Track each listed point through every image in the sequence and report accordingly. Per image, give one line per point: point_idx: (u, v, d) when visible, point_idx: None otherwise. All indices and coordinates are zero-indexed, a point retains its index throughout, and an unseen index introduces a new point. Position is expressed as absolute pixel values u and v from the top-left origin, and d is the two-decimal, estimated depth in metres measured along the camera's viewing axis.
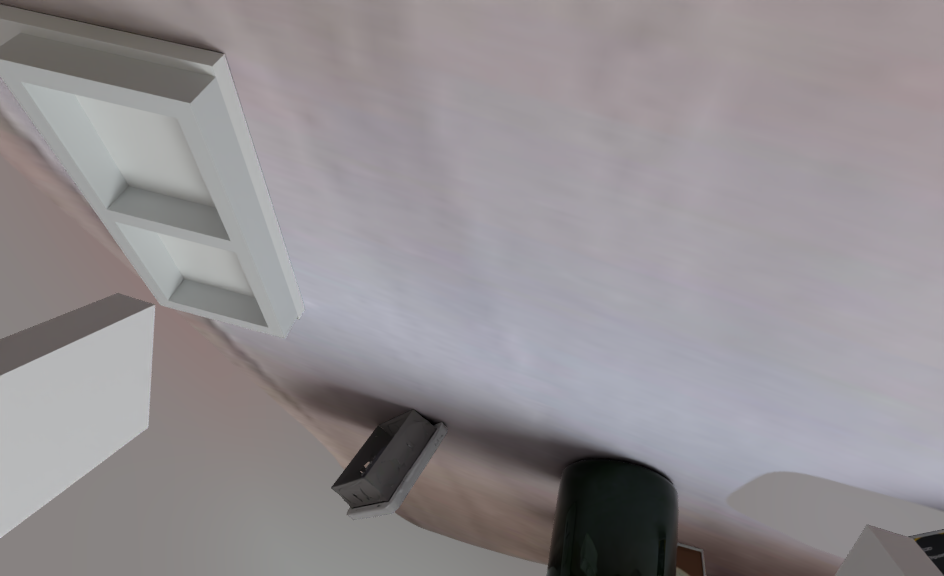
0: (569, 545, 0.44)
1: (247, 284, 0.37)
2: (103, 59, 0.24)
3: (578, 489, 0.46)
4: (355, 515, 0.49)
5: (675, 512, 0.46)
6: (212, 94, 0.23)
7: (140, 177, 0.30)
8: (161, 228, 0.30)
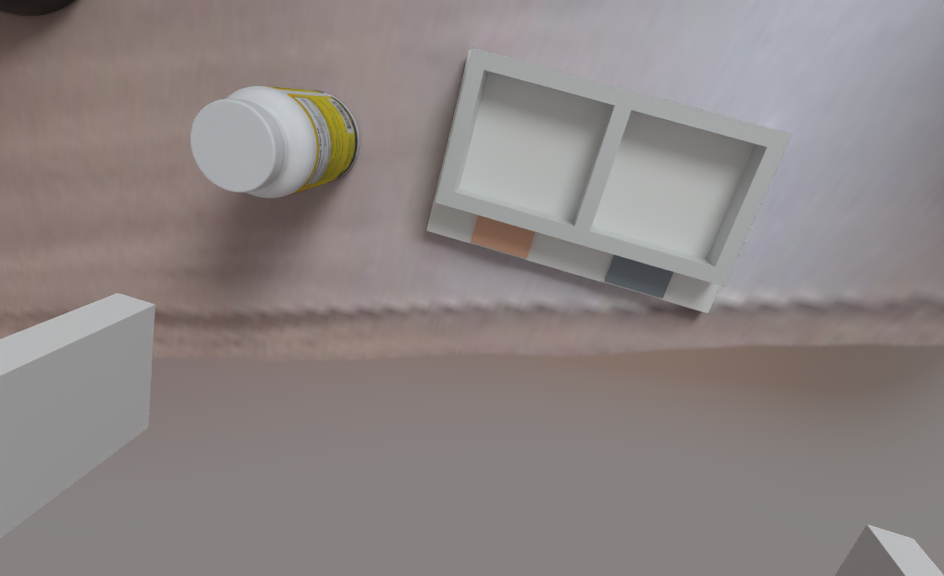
0: None
1: (716, 173, 0.34)
2: None
3: None
4: None
5: None
6: None
7: (564, 198, 0.36)
8: (598, 180, 0.33)
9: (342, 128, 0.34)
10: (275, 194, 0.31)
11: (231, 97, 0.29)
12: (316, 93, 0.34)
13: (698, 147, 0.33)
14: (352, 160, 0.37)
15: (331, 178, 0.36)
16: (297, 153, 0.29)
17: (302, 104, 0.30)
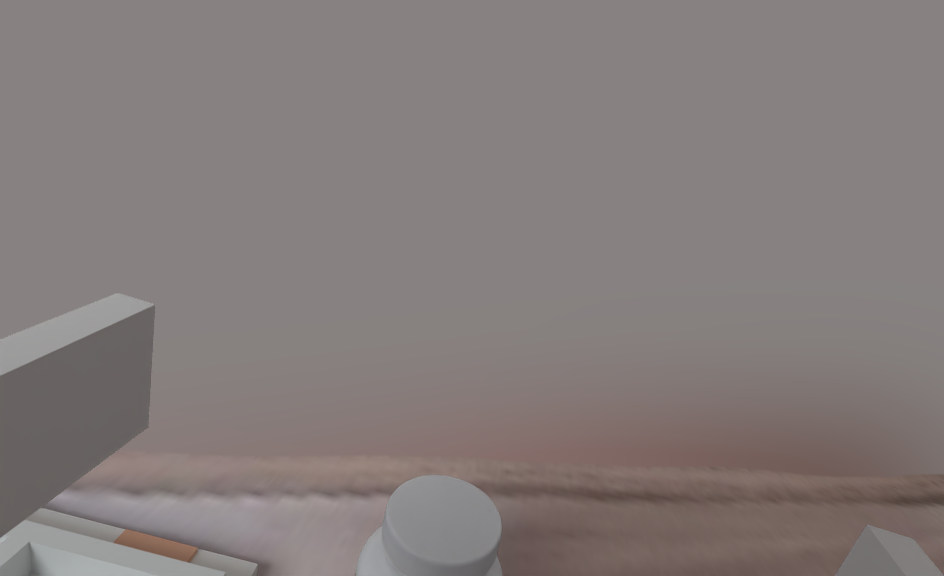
0: None
1: None
2: None
3: None
4: None
5: None
6: None
7: None
8: None
9: None
10: None
11: None
12: None
13: None
14: None
15: None
16: (375, 545, 0.22)
17: None
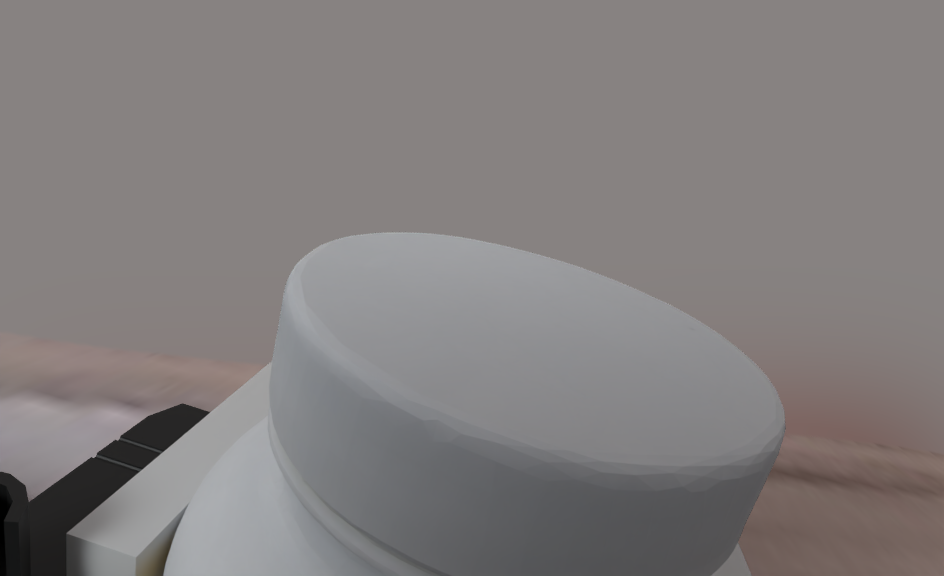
0: None
1: None
2: None
3: None
4: None
5: None
6: None
7: None
8: None
9: None
10: None
11: None
12: None
13: None
14: None
15: None
16: (264, 433, 0.06)
17: None
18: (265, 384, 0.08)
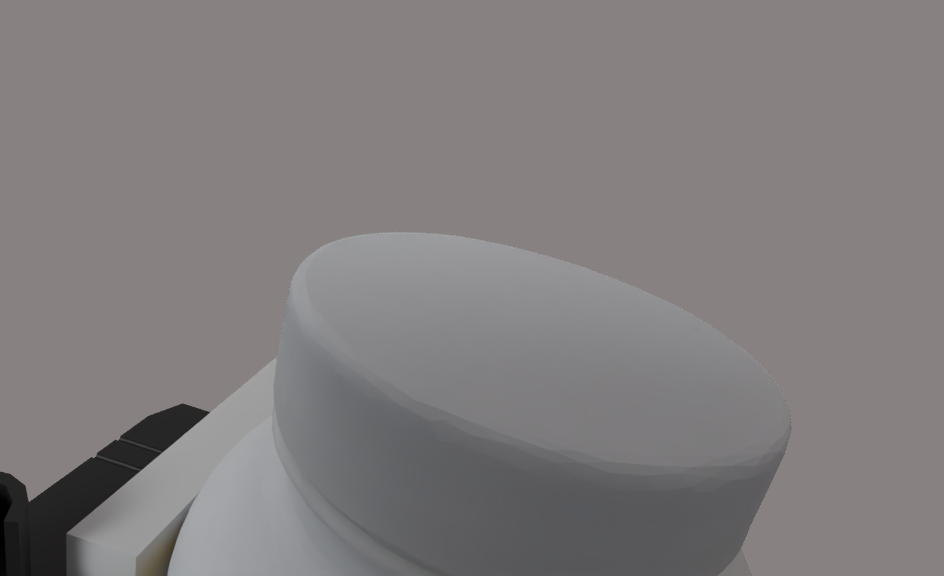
0: None
1: None
2: None
3: None
4: None
5: None
6: None
7: None
8: None
9: None
10: None
11: None
12: None
13: None
14: None
15: None
16: (267, 433, 0.06)
17: None
18: (265, 384, 0.08)
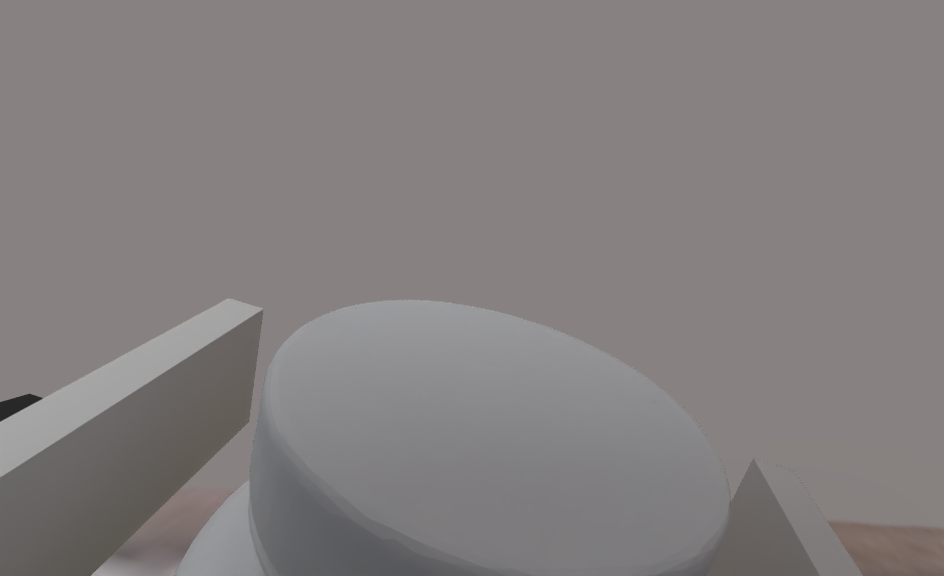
0: None
1: None
2: None
3: None
4: None
5: None
6: None
7: None
8: None
9: None
10: None
11: None
12: None
13: None
14: None
15: None
16: (249, 500, 0.06)
17: None
18: (116, 373, 0.08)
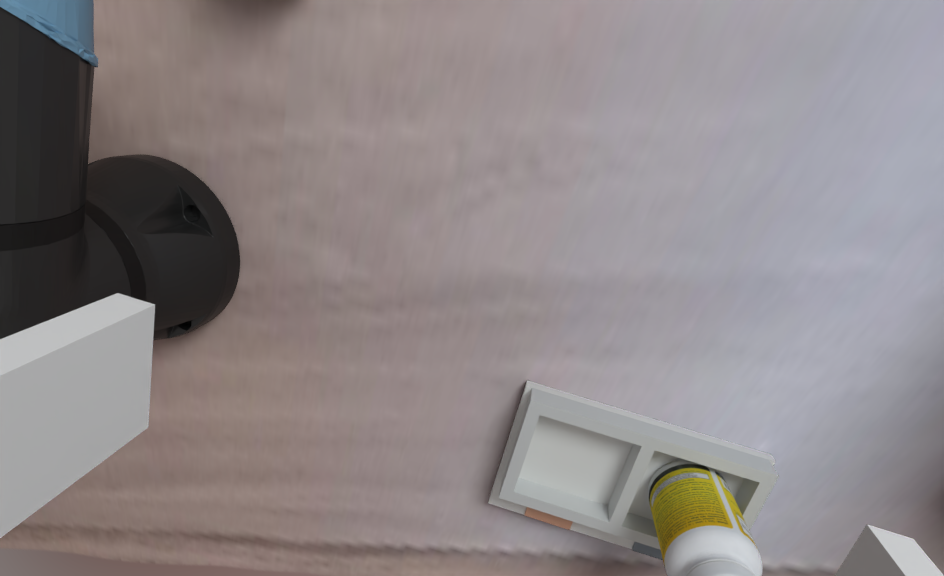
0: None
1: None
2: (514, 442, 0.44)
3: None
4: None
5: None
6: (538, 393, 0.43)
7: (600, 490, 0.45)
8: (628, 493, 0.42)
9: None
10: None
11: (701, 541, 0.35)
12: (716, 483, 0.40)
13: None
14: None
15: None
16: None
17: (750, 536, 0.36)
18: None
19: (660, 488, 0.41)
